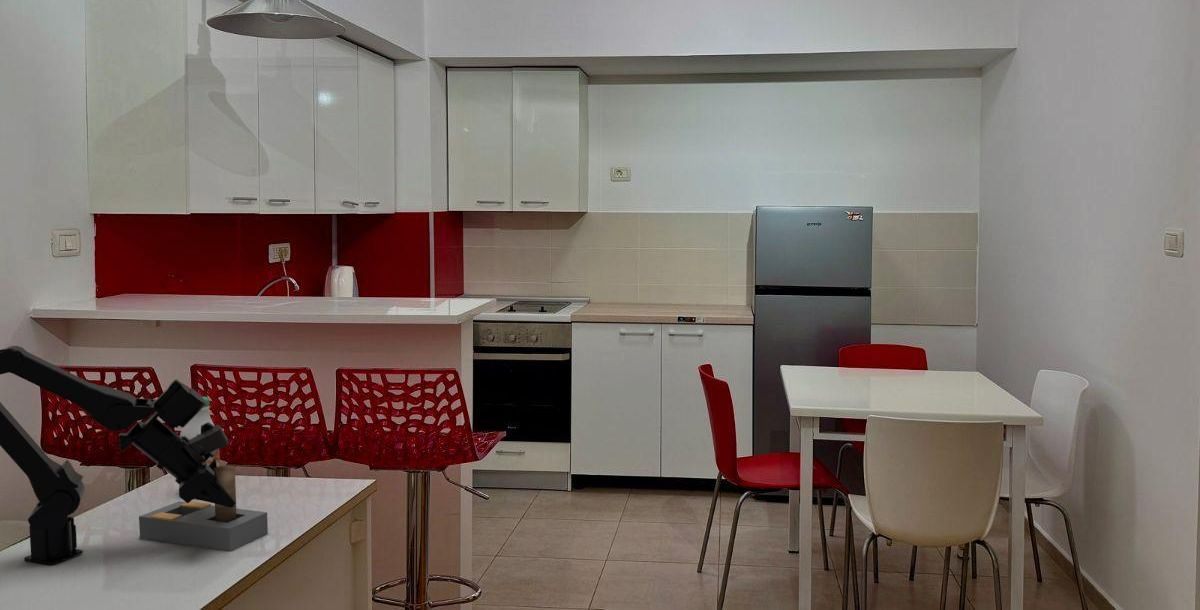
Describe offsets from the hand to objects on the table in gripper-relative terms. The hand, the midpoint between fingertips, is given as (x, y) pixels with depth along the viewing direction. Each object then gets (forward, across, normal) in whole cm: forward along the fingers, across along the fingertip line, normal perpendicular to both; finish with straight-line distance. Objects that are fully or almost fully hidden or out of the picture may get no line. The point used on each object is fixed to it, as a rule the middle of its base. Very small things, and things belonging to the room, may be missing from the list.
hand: (233, 502), depth 184 cm
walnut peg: (+4, 0, +6) cm, 7 cm away
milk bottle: (0, +33, +9) cm, 34 cm away
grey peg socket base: (+1, +3, +8) cm, 9 cm away
